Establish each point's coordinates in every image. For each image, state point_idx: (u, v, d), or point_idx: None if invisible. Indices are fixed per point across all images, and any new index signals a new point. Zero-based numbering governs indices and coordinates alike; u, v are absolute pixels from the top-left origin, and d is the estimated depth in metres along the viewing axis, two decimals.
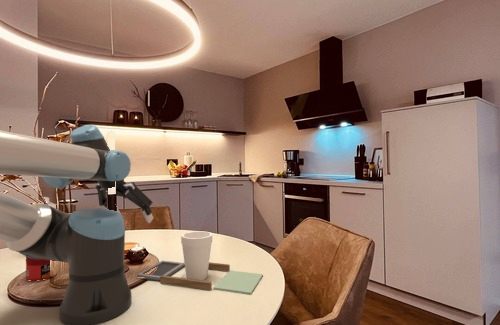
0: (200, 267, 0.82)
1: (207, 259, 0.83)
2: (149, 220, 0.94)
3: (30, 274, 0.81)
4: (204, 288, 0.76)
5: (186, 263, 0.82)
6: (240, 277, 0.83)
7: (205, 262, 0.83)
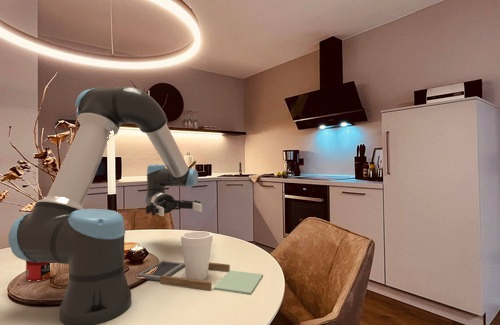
0: (200, 267, 0.82)
1: (207, 259, 0.83)
2: None
3: (30, 274, 0.81)
4: (204, 288, 0.76)
5: (186, 263, 0.82)
6: (240, 277, 0.83)
7: (205, 262, 0.83)
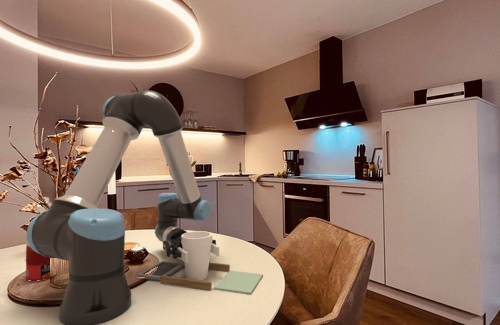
0: (200, 267, 0.82)
1: (207, 259, 0.83)
2: None
3: (30, 274, 0.81)
4: (204, 288, 0.76)
5: (186, 263, 0.82)
6: (240, 277, 0.83)
7: (205, 262, 0.83)
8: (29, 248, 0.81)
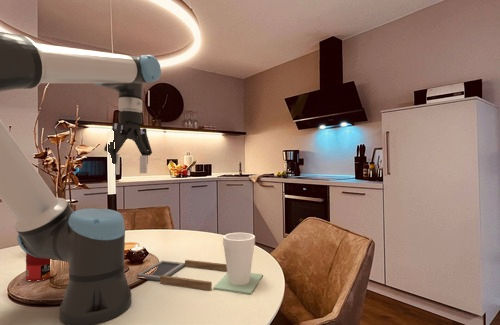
0: (244, 270, 0.78)
1: (251, 262, 0.79)
2: None
3: (30, 274, 0.81)
4: (204, 288, 0.76)
5: (229, 266, 0.78)
6: None
7: (249, 265, 0.79)
8: None
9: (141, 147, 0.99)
